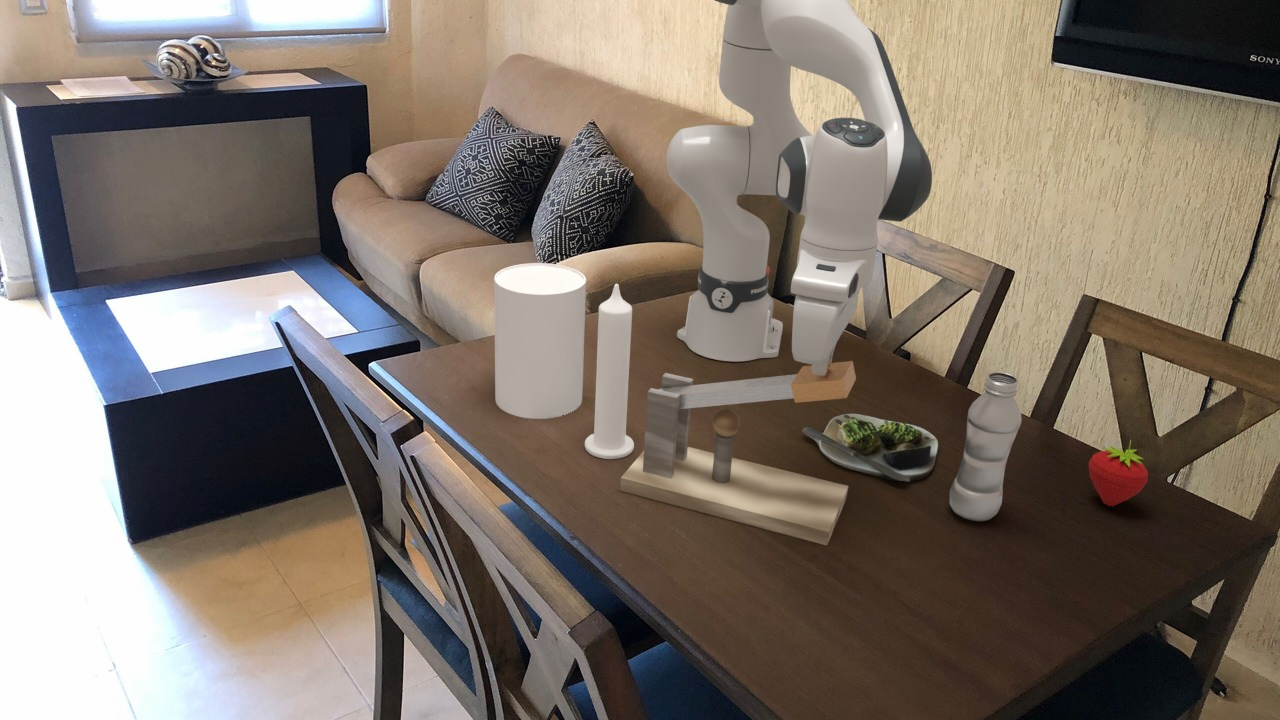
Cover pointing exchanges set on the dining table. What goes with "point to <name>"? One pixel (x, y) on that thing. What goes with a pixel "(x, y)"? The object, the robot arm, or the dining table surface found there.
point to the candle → (612, 380)
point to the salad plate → (878, 446)
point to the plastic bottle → (986, 449)
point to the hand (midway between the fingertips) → (821, 370)
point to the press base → (726, 475)
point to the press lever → (771, 388)
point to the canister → (539, 339)
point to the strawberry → (1117, 475)
